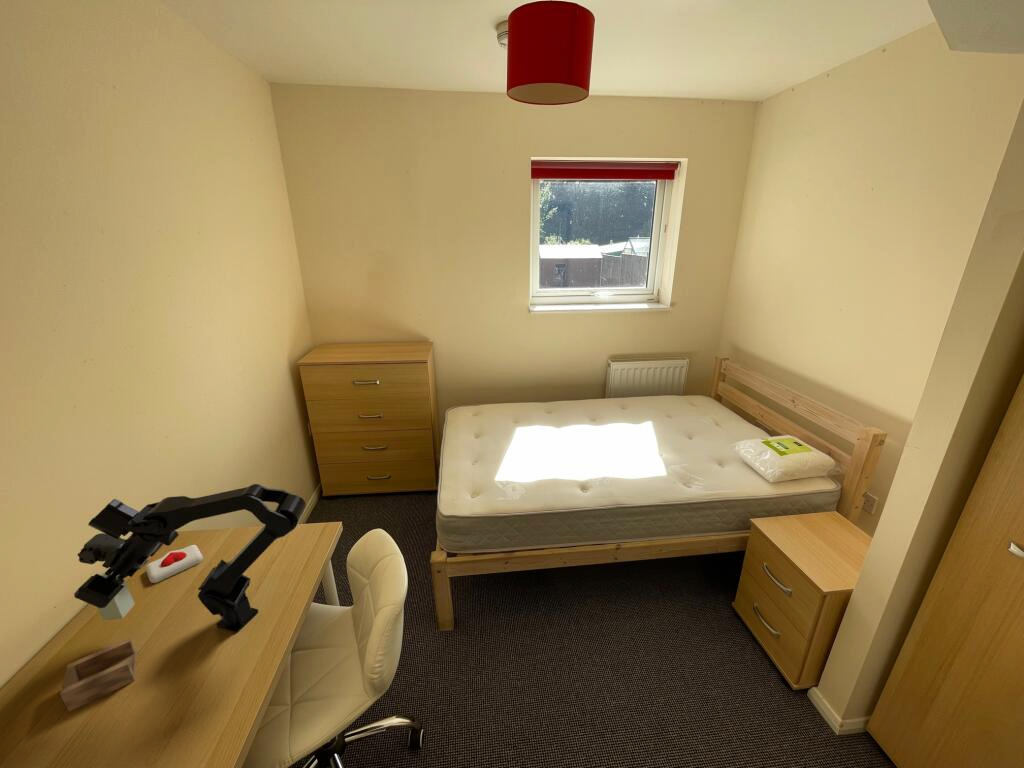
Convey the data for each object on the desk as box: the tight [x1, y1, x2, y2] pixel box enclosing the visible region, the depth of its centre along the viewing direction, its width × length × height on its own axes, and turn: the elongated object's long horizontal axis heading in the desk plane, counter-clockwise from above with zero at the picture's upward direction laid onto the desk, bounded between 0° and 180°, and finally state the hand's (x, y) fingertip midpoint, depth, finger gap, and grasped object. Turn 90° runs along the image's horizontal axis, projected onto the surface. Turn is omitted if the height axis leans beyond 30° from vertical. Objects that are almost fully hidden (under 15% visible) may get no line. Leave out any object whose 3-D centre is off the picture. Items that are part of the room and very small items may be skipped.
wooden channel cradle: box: [59, 637, 137, 713], centre depth 89 cm, size 10×8×5 cm
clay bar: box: [96, 572, 136, 622], centre depth 97 cm, size 4×4×10 cm
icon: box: [145, 544, 204, 584], centre depth 122 cm, size 12×4×10 cm
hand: (102, 590), depth 96 cm, fingers closed on clay bar, 4 cm apart
